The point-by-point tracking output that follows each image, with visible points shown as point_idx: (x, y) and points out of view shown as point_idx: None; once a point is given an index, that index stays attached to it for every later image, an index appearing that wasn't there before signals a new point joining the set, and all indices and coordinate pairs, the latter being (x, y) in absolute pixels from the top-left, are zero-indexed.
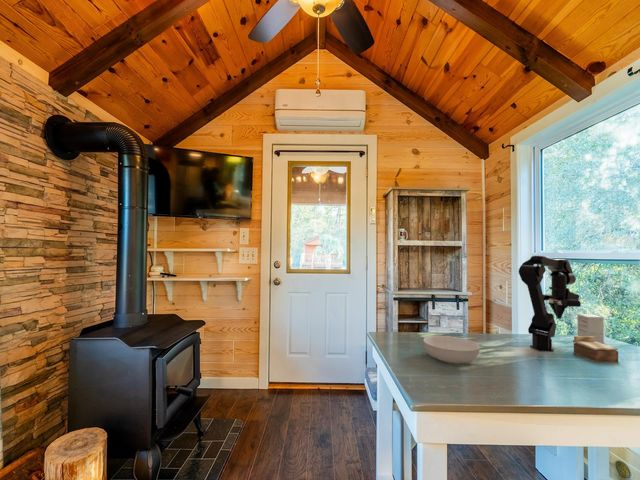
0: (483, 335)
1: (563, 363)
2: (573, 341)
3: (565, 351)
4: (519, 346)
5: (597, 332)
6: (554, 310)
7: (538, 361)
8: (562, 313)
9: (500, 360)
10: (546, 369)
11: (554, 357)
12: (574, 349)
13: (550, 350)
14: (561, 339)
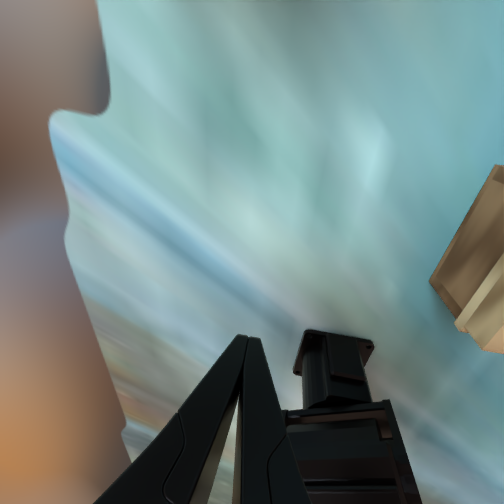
0: (138, 395)
1: (493, 411)
2: (460, 327)
3: (391, 294)
4: (282, 391)
5: None
6: (209, 492)
7: (436, 445)
8: (279, 412)
9: None
10: (495, 470)
11: (432, 389)
12: (443, 295)
13: (369, 354)
14: (157, 84)
